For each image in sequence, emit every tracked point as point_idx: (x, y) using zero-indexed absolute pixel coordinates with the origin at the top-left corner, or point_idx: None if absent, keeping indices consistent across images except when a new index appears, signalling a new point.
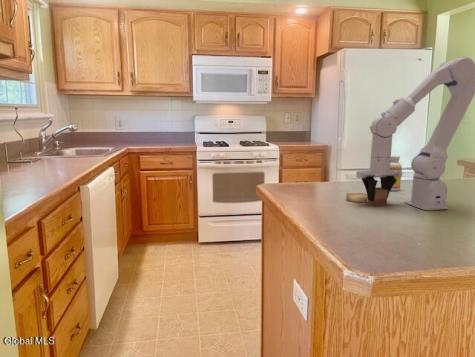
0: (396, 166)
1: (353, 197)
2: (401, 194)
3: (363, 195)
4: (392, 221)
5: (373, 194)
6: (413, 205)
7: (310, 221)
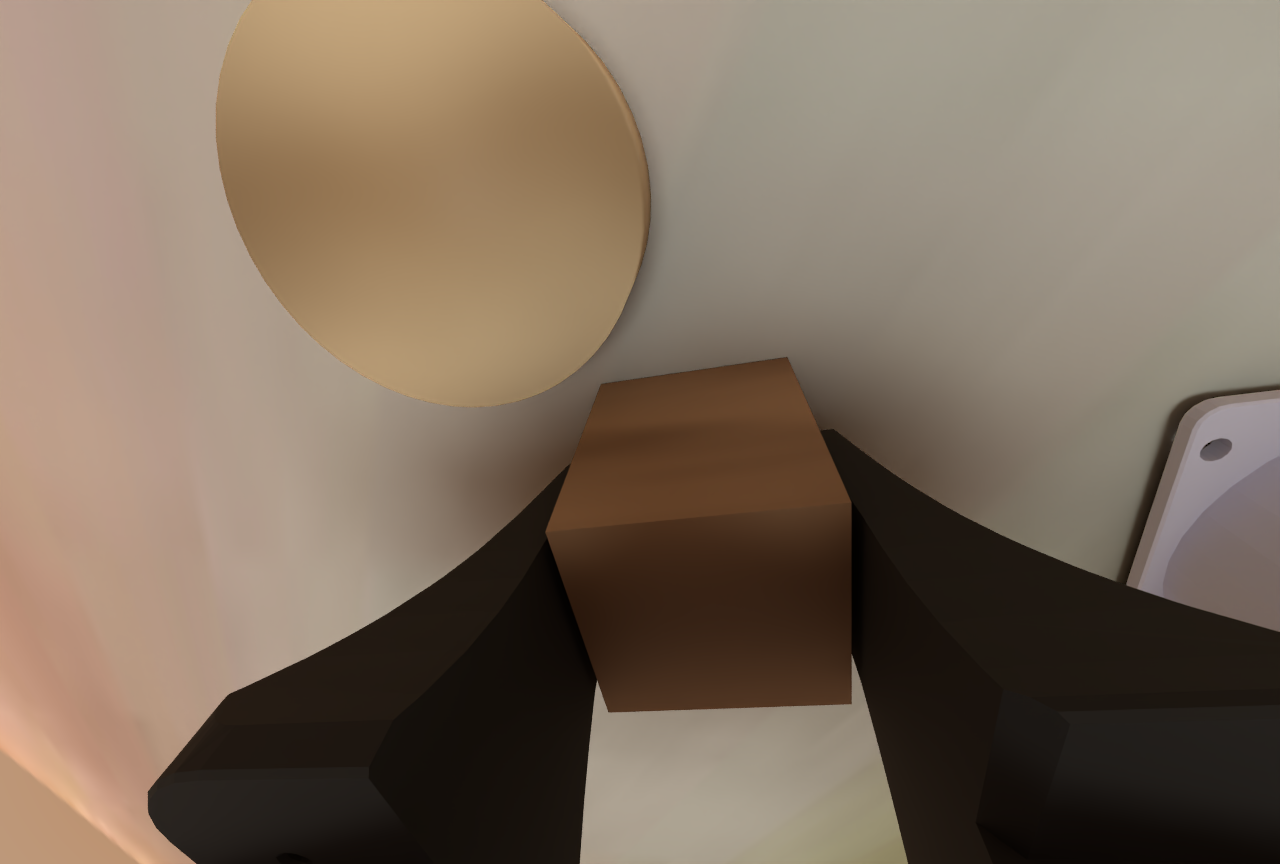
0: None
1: (363, 359)
2: None
3: (536, 316)
4: (599, 828)
5: None
6: (1135, 574)
7: (110, 782)
